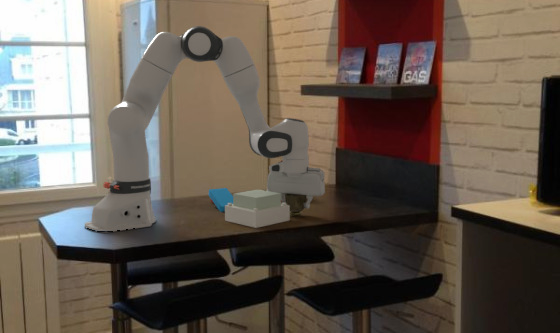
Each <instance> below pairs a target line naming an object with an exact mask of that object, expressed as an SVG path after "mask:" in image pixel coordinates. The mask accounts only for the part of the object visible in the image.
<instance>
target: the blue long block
mask: <svg viewBox="0 0 560 333" xmlns="http://www.w3.org/2000/svg"><path fill="white" fill-rule="evenodd" d="M208 197H209V198H210V202H211V203H212V204H214V205H215V207H216V208H217V210H218V211H219V212H220V213H223V212H224V213H225V206H226V205H228V203H232V204H233V194H232V193H231V192H230V191H229V189H228V188H227V187H221V188H220V187H219V188H210V189H208Z"/></svg>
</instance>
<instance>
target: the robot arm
mask: <svg viewBox="0 0 560 333" xmlns="http://www.w3.org/2000/svg"><path fill="white" fill-rule="evenodd" d="M185 59H189V60H191V61H193V62H197V63H202V62H214V63H215V64H216V66H217V67H218V69H219V71H220V74H221V76H222V78H223V80H224V82H225V85H226V87H227V89H228V90H229V92H230V93H231V95H232V96H233V98H234V99H235V101H236V102H237V104H238V106H239V109H240V111H241V113H242V116H243V118H244V121H245V123H246V126H247V130H248V143H249V147H250V149H251V151H253V153H255V154H256V155H258V156H262V157H264V158H267V159H275V158H281V157H282V158H281V159H282V160H281V161H282V162H281V161H279V162H277V163H274V164H270V165H269V166H268V171H269V173H268V175H267V180H266V183H267V184H266V190H267V189H268V191H270V192H276V193H281V201H282V202H281V204H282V203H286V200H285V197H284V196H285V194H297V195H300V194H301V195H306V202H305V203H304V209H306V210H307V209H308V210H309V209H310V207H311V204H310V203H311V202H312V201H313V198H314V197H322V196H323V195H324V194H325V193H326V187H325V186H326V185H325V171H324V170H323V169H322V168H320V167H310V159H309V158H310V156H309V154H308V151H309V150H308V149H309V147H310V146H309V145H310V144H309V142H310V141H309V140H310V139H309V128H308V127H309V126H308V124H307V123H306V122H305V121H304V120H301V119H297V118H290V117H287V118H284V120H282V121H281V122H279V123H277V124H276V125H273V126H272V127H270V126H269V125H268V123H267V122H266V120H265V117H264V114H263V112H262V109H261V107H260V104H259V100H258V93H259V89H260V86H261V81H260V76H259V73H258V69H257V67H256V64H255V62H254V60H253V58H252V55H251V54H250V52H249V50H248V48H247V47H246V45H245V44H244V42H243V41H242V39H241V38H240V37H237V36H231V35H230V36H226V37H223V38H220V36H218V35H217V34H215V32H213V31H212V30H210V28H207V27H205V26H202V25H198V26H192V27H190V28H189V29H187V30H186V31H184V33H183V34H181V35H176V34H175V33H172V32H170V31H161V32H159V33H158V34H156V35H155V37H154V38H153V39H152V40H151V42H150V43H149V45H148V46H147V48H146V50H145V51H144V53H143V54H142V56H141V58H140V60H139V62H138V64H137V66H136V68H135V70H134V71H133V73H132V75H131V76H130V80H129V82H128V86H127V88H126V90H125V94H124V95H123V98H122V100H121V102H120V103H119V104H117V105H115V106H113V108H111V110H110V111H109V114H108V116H107V127H108V133H109V139H110V145H111V150H112V158H113V161H112V162H113V178H114V179H113V180H112V181H111V182H109V181H104V183H103V184H102V186H103V188H105V189H109V192H108V193H107V194H106V195H105V196H104V197H103V198H102V199H101V200H100V201H99V202H97V203H96V205H95V206H93V209H92V213H91V221H87V222H84V228H85V227H87V228H89V229H93V230H97V231H113V232H118V231H117V230H120V231H126V229H128V230H134V229H133V228H135V229H140V228H142V229H143V228H149V227H151V226H152V225H153V224H154V223H155V222H156V221H157V220H156V217H155V214H154V210H153V205H152V198H151V193H152V180H151V178H150V165H149V164H150V163H149V151H148V146H147V139H146V130H147V129H148V127H149V125H150V123H151V121H152V119H153V116H154V115H155V112H156V110H157V108H158V105H159V103H160V101H161V99H162V96H163V95H164V93H165V92H166V89H167V87H168V85H169V82H171V80H172V78H173V75H174V74H175V71H176V70H177V68H178V66H179V65H180V63H182V61H183V60H185ZM87 228H86V229H87ZM89 229H88V230H89ZM97 231H96V232H97Z"/></svg>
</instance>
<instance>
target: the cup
mask: <svg viewBox="0 0 560 333" xmlns="http://www.w3.org/2000/svg"><path fill="white" fill-rule="evenodd" d="M285 200H286V205H290V216H291V217H300V216H301V215H302V211H303V210H304V209H305V208H304V203H305V202H307V195H301V194H300V195H297V194H285Z"/></svg>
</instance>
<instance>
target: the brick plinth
mask: <svg viewBox="0 0 560 333" xmlns="http://www.w3.org/2000/svg"><path fill="white" fill-rule="evenodd" d="M232 196H233V204H232V203H228V205H226V206H225V212H224V220H225V222H229V223H234V224H239V225H242V226H245V227H246V226H247V227H250V228H255V229H257V228H261V227H266V226H271V225H275V224H279V223H283V222H289V221H291V220H290V216H291V214H290V213H291V211H290V205H286V203H282V202H281V193H276V192H270V191H267V190H263V189H252V190H247V191H240V192H236V193H233V194H232Z"/></svg>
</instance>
